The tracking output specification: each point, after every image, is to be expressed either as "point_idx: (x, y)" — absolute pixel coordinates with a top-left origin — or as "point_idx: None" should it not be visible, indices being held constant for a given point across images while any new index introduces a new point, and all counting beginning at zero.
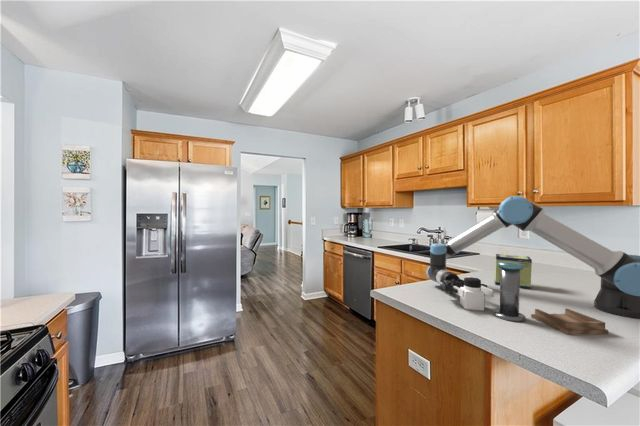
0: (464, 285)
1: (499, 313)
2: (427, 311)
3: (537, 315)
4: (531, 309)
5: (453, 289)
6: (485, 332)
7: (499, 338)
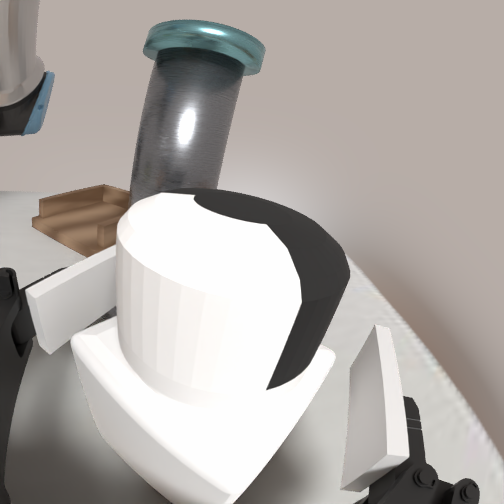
0: (311, 359)
1: None
2: (479, 444)
3: (110, 242)
4: (5, 266)
5: (416, 424)
6: (365, 303)
7: (351, 284)
